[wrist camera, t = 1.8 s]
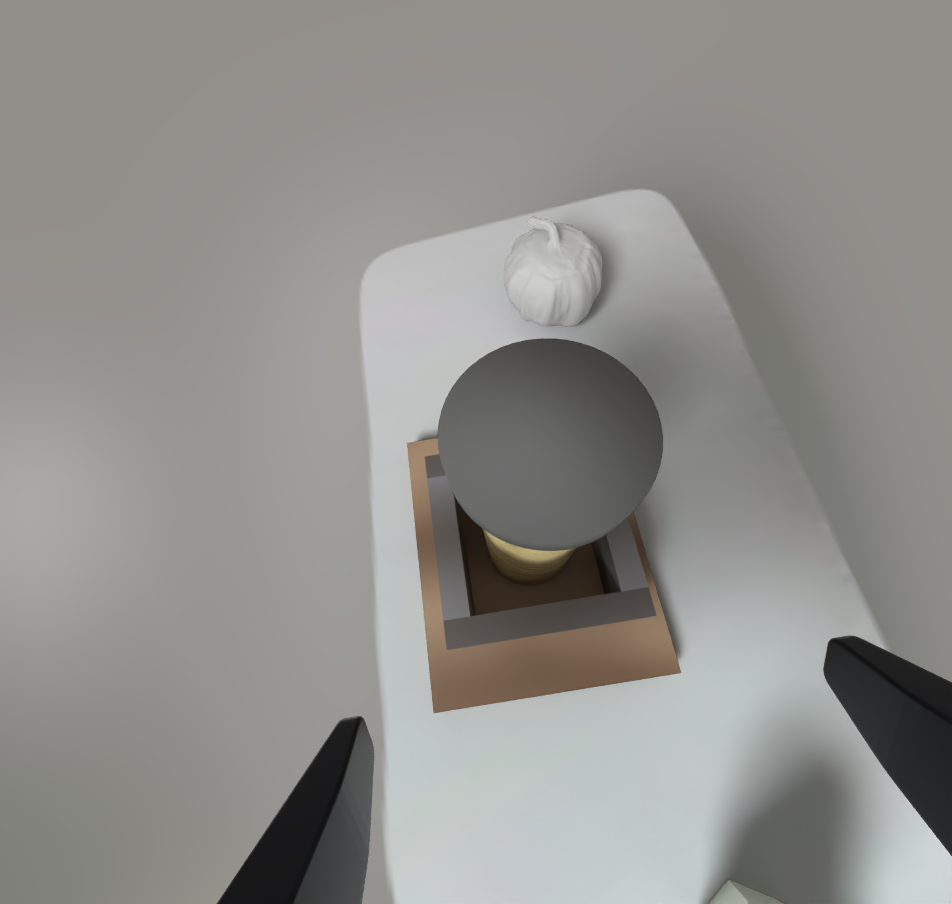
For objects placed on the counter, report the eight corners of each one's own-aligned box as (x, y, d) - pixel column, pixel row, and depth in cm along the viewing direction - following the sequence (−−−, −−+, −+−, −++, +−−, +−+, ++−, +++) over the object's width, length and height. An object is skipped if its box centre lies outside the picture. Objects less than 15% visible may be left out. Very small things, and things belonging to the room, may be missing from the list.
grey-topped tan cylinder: (591, 588, 19) (695, 519, 8) (485, 605, 20) (452, 559, 8) (566, 488, 21) (626, 323, 10) (470, 504, 21) (426, 357, 10)
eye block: (672, 671, 19) (712, 678, 15) (437, 709, 19) (419, 726, 15) (599, 419, 24) (616, 378, 20) (411, 450, 24) (392, 415, 20)
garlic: (487, 282, 28) (482, 207, 23) (568, 255, 28) (580, 175, 23) (525, 358, 26) (529, 292, 21) (613, 327, 26) (636, 255, 21)
